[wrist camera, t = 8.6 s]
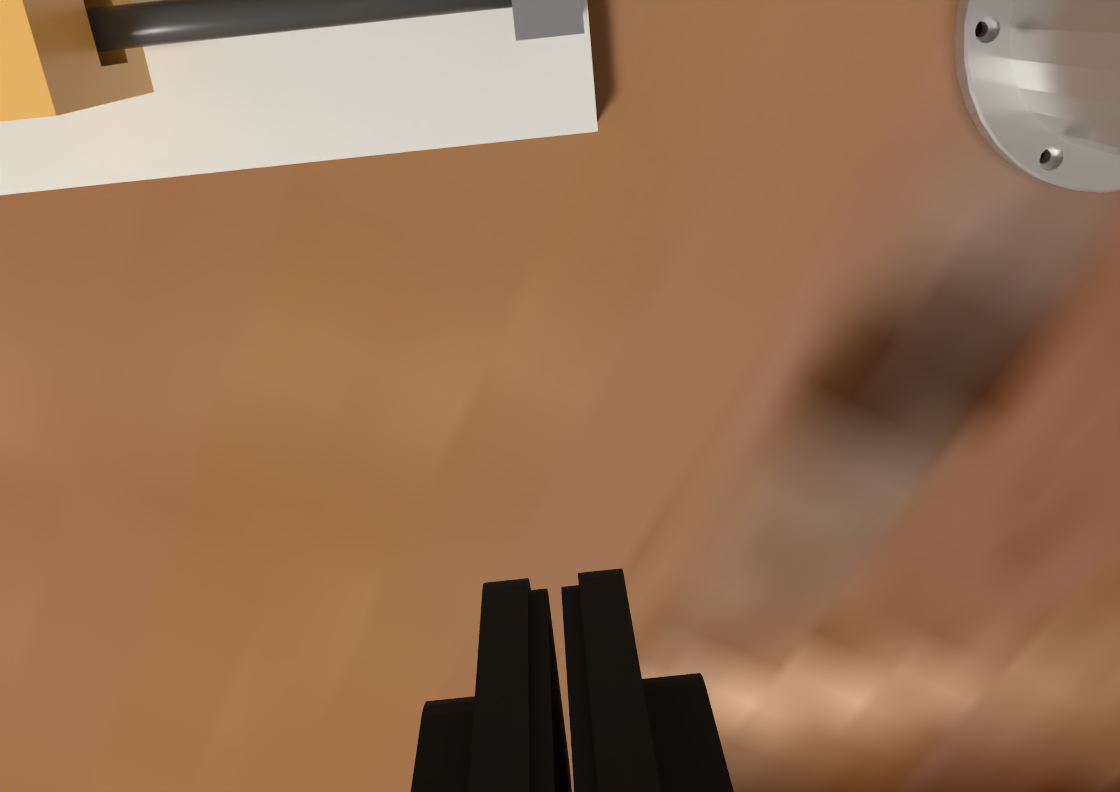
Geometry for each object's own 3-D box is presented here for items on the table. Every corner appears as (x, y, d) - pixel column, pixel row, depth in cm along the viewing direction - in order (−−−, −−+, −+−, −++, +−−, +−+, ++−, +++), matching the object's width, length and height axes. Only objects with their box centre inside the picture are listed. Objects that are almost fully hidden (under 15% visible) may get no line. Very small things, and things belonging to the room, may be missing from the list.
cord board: (569, -184, 31) (586, -251, 23) (595, 126, 35) (616, 164, 27) (-235, -96, 31) (-507, -132, 23) (-122, 202, 35) (-320, 264, 27)
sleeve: (120, -42, 29) (6, -55, 23) (154, 92, 31) (56, 115, 24) (-39, -25, 29) (-199, -33, 23) (2, 108, 31) (-135, 136, 24)
